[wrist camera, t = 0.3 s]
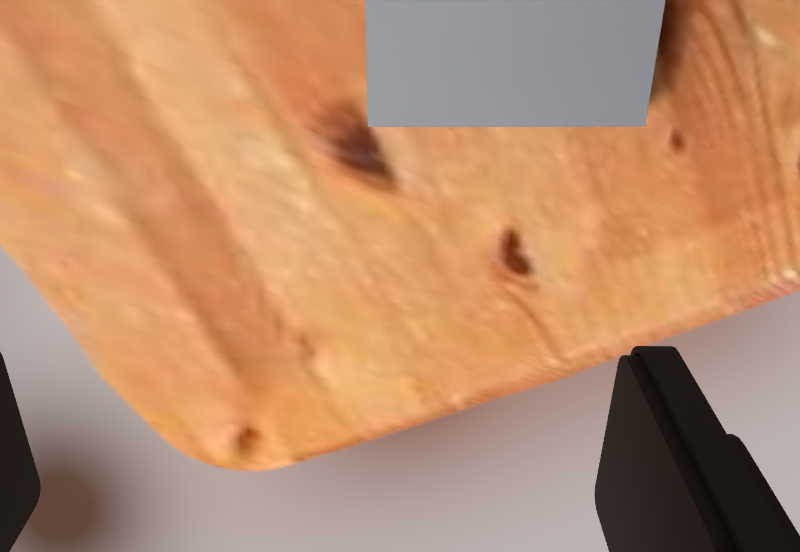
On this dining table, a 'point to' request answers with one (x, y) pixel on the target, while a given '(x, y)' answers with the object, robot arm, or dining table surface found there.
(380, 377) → the dining table surface
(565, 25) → the plinth
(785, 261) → the dining table surface
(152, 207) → the dining table surface
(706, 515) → the robot arm
